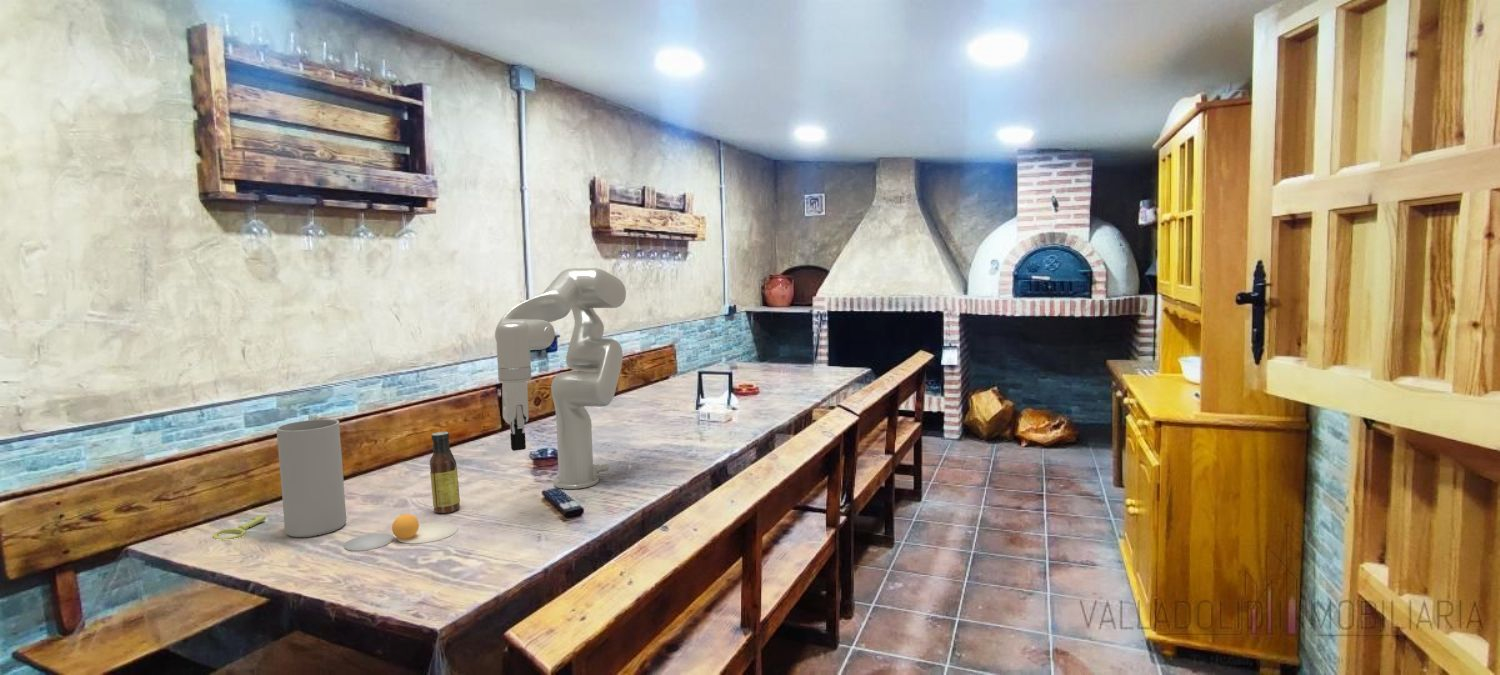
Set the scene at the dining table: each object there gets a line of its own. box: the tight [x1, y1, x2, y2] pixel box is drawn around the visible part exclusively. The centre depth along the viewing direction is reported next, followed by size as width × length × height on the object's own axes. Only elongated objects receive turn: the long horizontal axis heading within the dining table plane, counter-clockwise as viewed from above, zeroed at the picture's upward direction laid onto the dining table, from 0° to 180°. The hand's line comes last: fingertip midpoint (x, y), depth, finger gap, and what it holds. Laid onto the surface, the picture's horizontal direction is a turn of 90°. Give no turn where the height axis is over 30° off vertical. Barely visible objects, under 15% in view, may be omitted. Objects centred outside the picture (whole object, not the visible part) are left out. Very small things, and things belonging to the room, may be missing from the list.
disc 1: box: [343, 532, 395, 552], centre depth 163 cm, size 10×10×1 cm
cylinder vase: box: [276, 418, 347, 538], centre depth 171 cm, size 12×12×25 cm
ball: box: [391, 513, 420, 539], centre depth 165 cm, size 6×6×6 cm
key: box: [212, 514, 267, 541], centre depth 172 cm, size 7×12×2 cm, turn 7°
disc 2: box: [396, 521, 459, 545], centre depth 168 cm, size 13×13×1 cm
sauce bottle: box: [429, 431, 461, 514], centre depth 183 cm, size 6×6×20 cm
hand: (518, 449), depth 175 cm, fingers closed
